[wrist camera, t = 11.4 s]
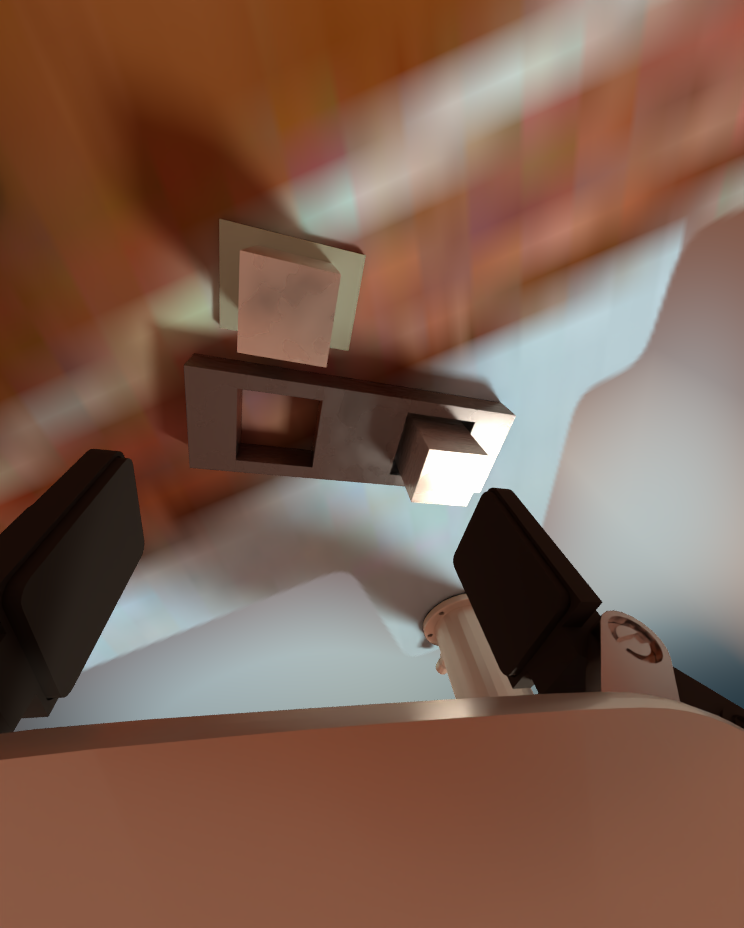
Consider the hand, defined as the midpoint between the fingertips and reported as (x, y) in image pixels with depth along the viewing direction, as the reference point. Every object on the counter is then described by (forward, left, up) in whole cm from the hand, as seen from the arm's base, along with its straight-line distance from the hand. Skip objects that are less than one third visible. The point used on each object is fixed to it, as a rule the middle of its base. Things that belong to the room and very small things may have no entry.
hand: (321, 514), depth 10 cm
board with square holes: (-8, -5, -23) cm, 25 cm away
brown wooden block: (-8, -12, -23) cm, 27 cm away
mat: (+2, +2, -23) cm, 23 cm away
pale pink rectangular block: (+2, +2, -22) cm, 22 cm away
